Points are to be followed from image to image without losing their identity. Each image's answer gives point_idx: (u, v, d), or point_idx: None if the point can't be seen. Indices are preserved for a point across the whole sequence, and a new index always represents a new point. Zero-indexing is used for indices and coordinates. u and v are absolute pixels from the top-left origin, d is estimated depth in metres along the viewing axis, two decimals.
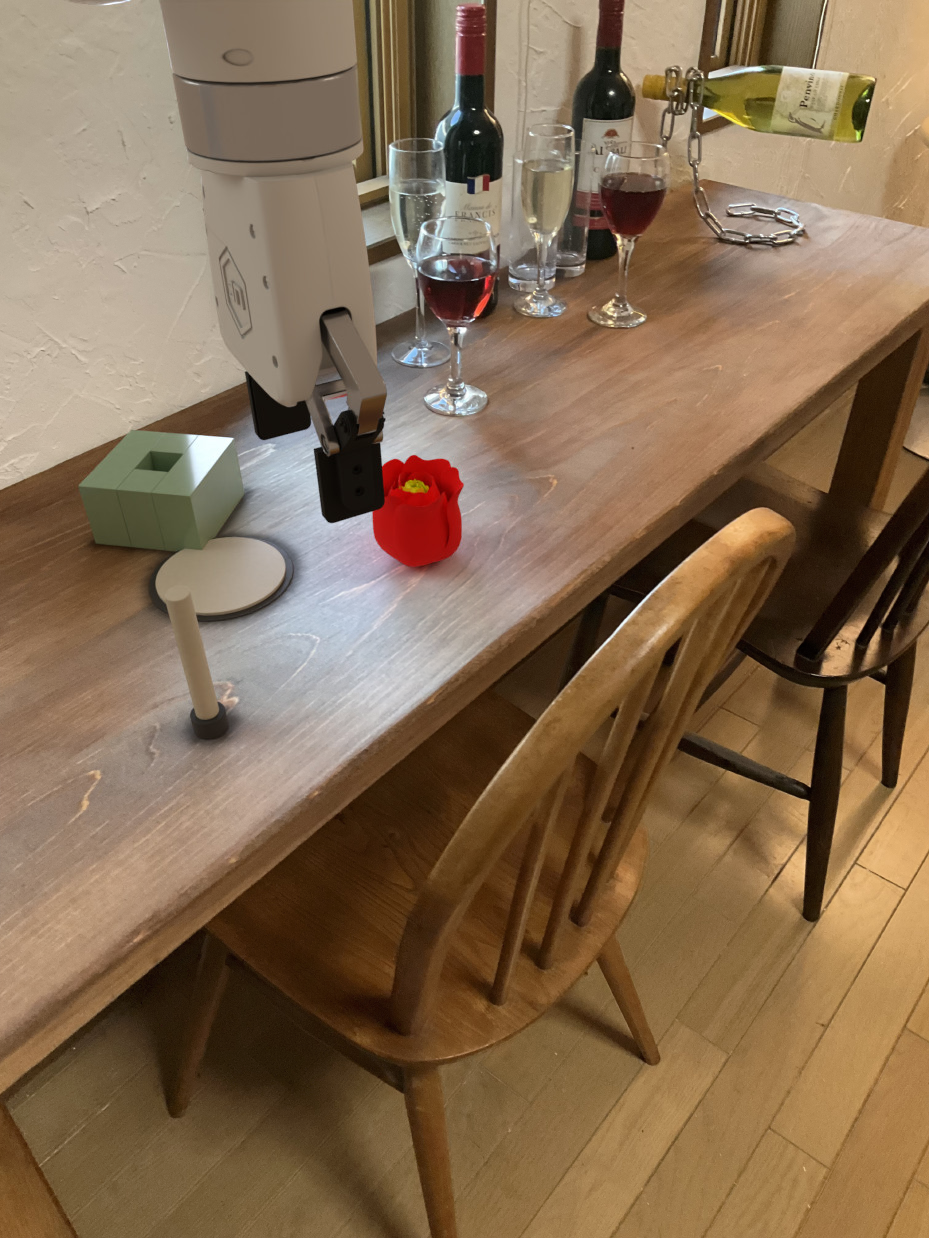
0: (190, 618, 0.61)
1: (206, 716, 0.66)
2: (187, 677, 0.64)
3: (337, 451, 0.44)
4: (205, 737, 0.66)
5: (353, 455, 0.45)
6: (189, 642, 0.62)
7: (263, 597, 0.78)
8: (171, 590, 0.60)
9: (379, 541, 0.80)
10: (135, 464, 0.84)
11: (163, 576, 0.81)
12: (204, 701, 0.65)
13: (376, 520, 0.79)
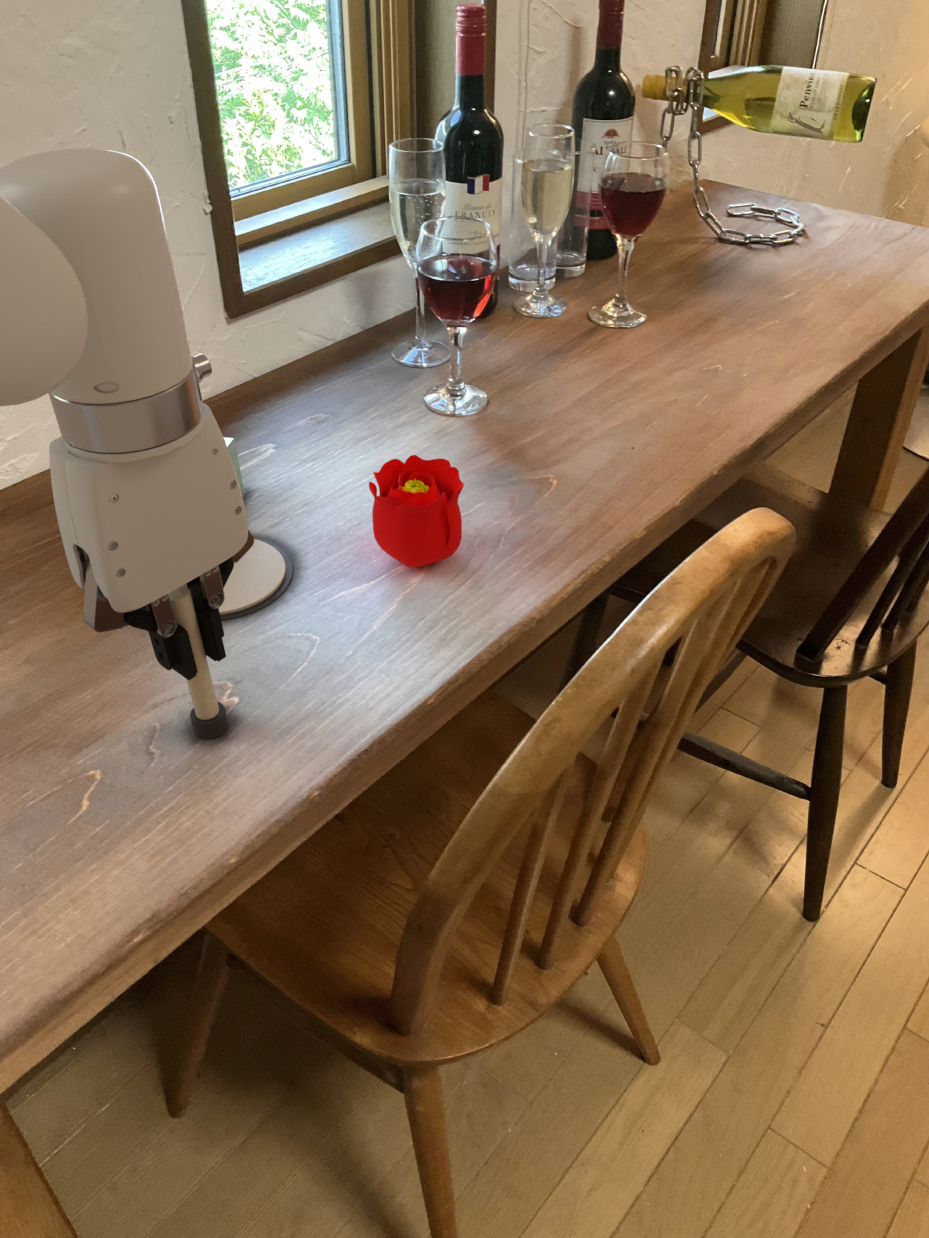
0: (190, 618, 0.61)
1: (206, 716, 0.66)
2: None
3: None
4: (205, 737, 0.66)
5: (153, 631, 0.60)
6: None
7: (263, 597, 0.78)
8: None
9: (379, 541, 0.80)
10: None
11: None
12: (204, 701, 0.65)
13: (376, 520, 0.79)
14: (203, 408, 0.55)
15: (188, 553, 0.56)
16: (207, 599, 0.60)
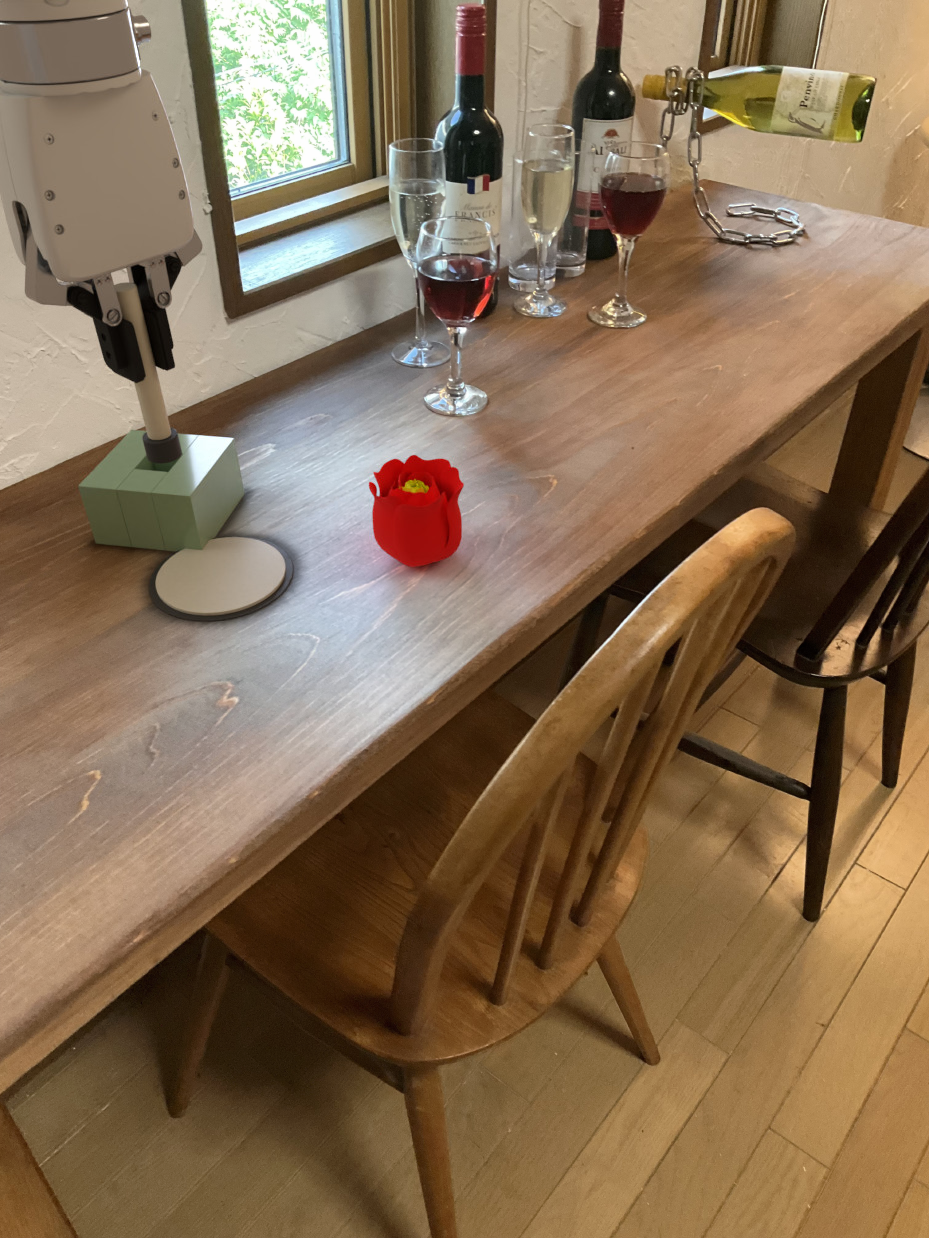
0: (137, 315, 0.61)
1: (157, 435, 0.66)
2: (137, 388, 0.64)
3: (86, 313, 0.60)
4: (157, 459, 0.67)
5: (99, 324, 0.60)
6: None
7: (263, 597, 0.78)
8: (118, 285, 0.60)
9: (379, 541, 0.80)
10: (135, 464, 0.84)
11: (163, 576, 0.81)
12: (154, 417, 0.65)
13: (376, 520, 0.79)
14: (142, 72, 0.55)
15: (129, 227, 0.56)
16: (153, 295, 0.61)
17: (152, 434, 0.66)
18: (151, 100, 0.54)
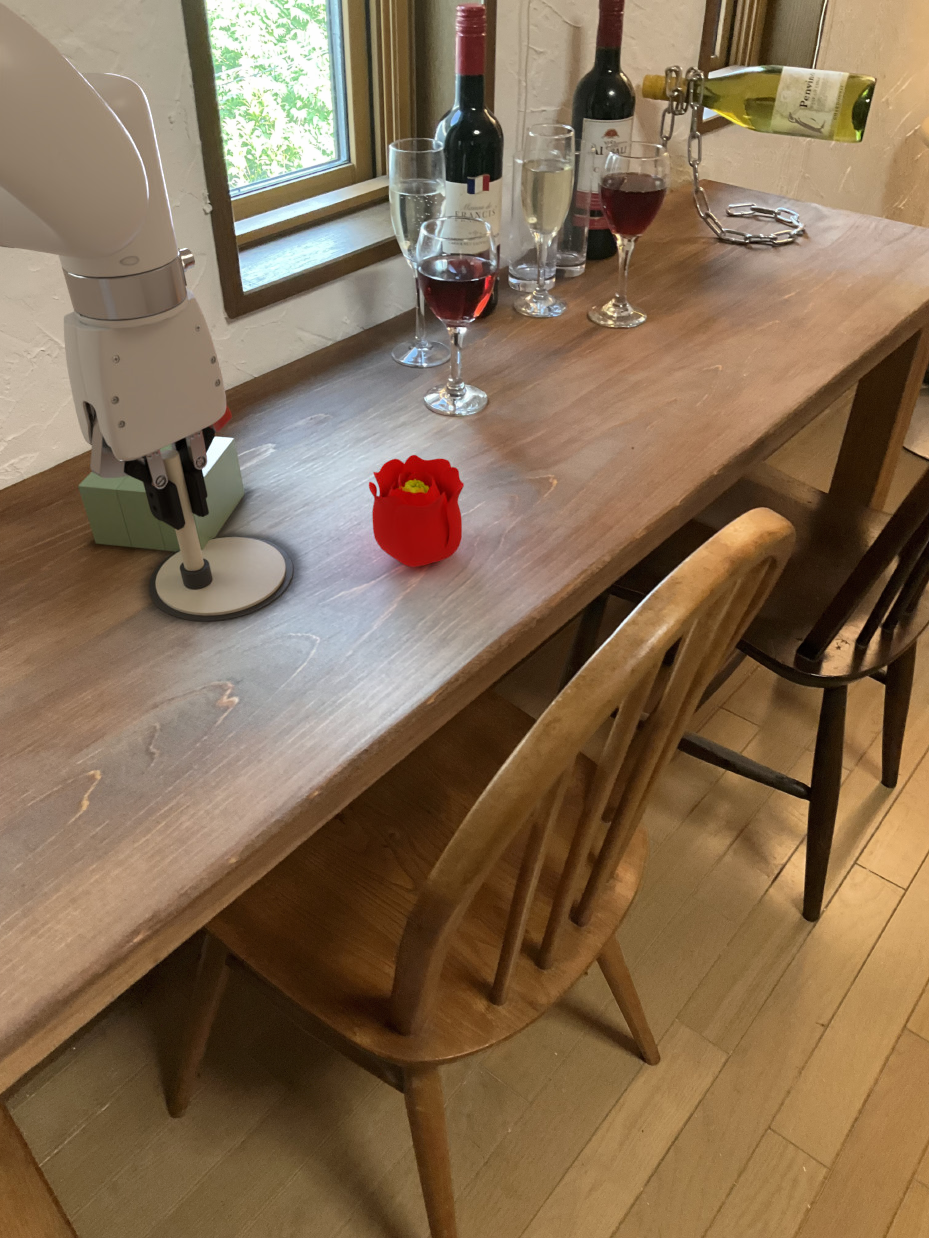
0: (179, 476, 0.73)
1: (193, 567, 0.78)
2: (177, 531, 0.76)
3: None
4: (192, 586, 0.79)
5: (148, 485, 0.73)
6: None
7: (263, 597, 0.78)
8: (163, 452, 0.73)
9: (379, 541, 0.80)
10: None
11: (163, 576, 0.81)
12: (191, 553, 0.77)
13: (376, 520, 0.79)
14: (188, 293, 0.67)
15: (176, 414, 0.69)
16: (192, 460, 0.73)
17: (188, 566, 0.78)
18: (195, 316, 0.67)
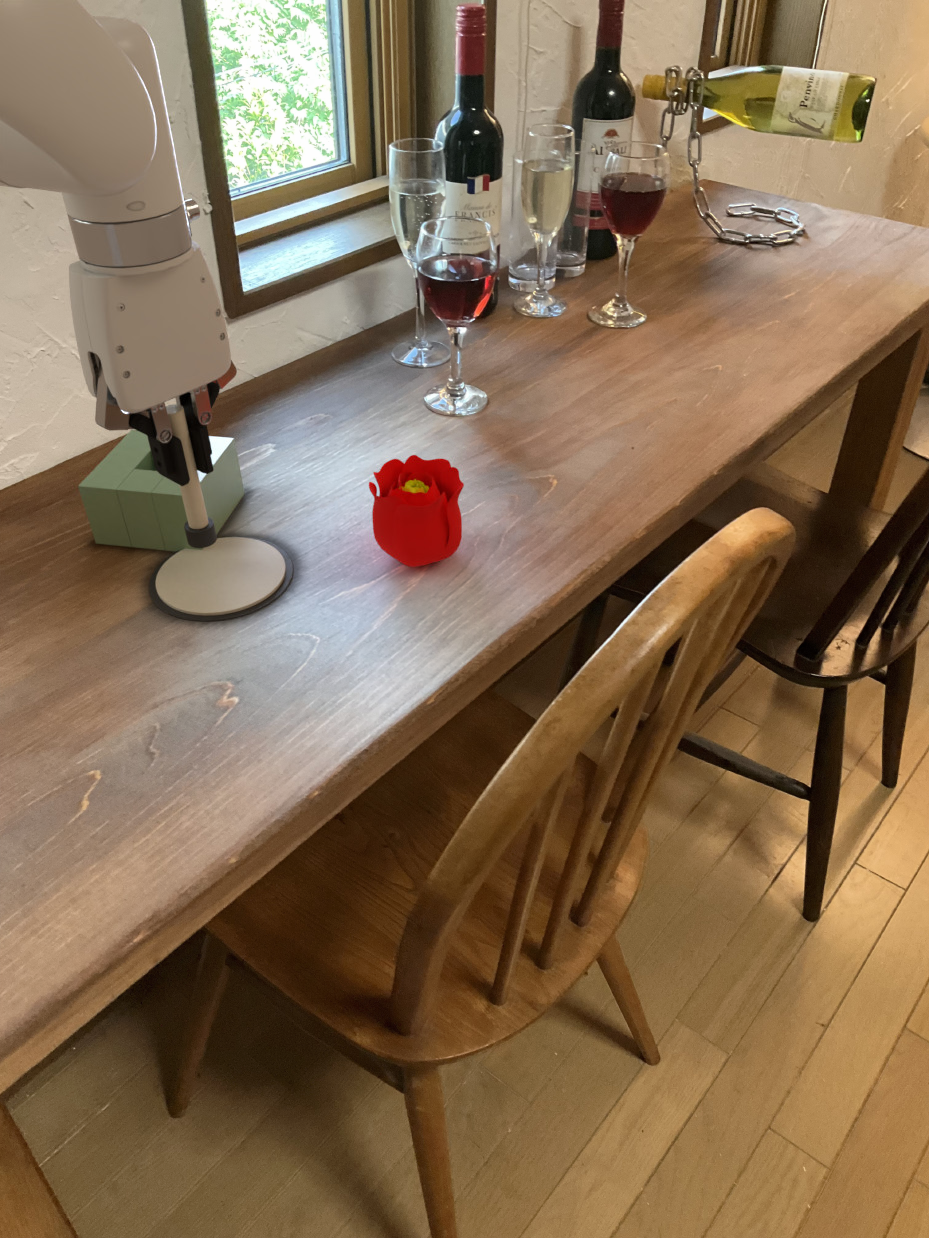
0: (183, 431, 0.73)
1: (197, 525, 0.78)
2: (181, 488, 0.76)
3: None
4: (197, 545, 0.79)
5: (153, 440, 0.72)
6: None
7: (263, 597, 0.78)
8: (167, 407, 0.73)
9: (379, 541, 0.80)
10: (135, 464, 0.84)
11: (163, 576, 0.81)
12: (195, 511, 0.77)
13: (376, 520, 0.79)
14: (193, 244, 0.67)
15: (181, 367, 0.69)
16: (197, 415, 0.73)
17: (193, 524, 0.78)
18: (200, 267, 0.67)
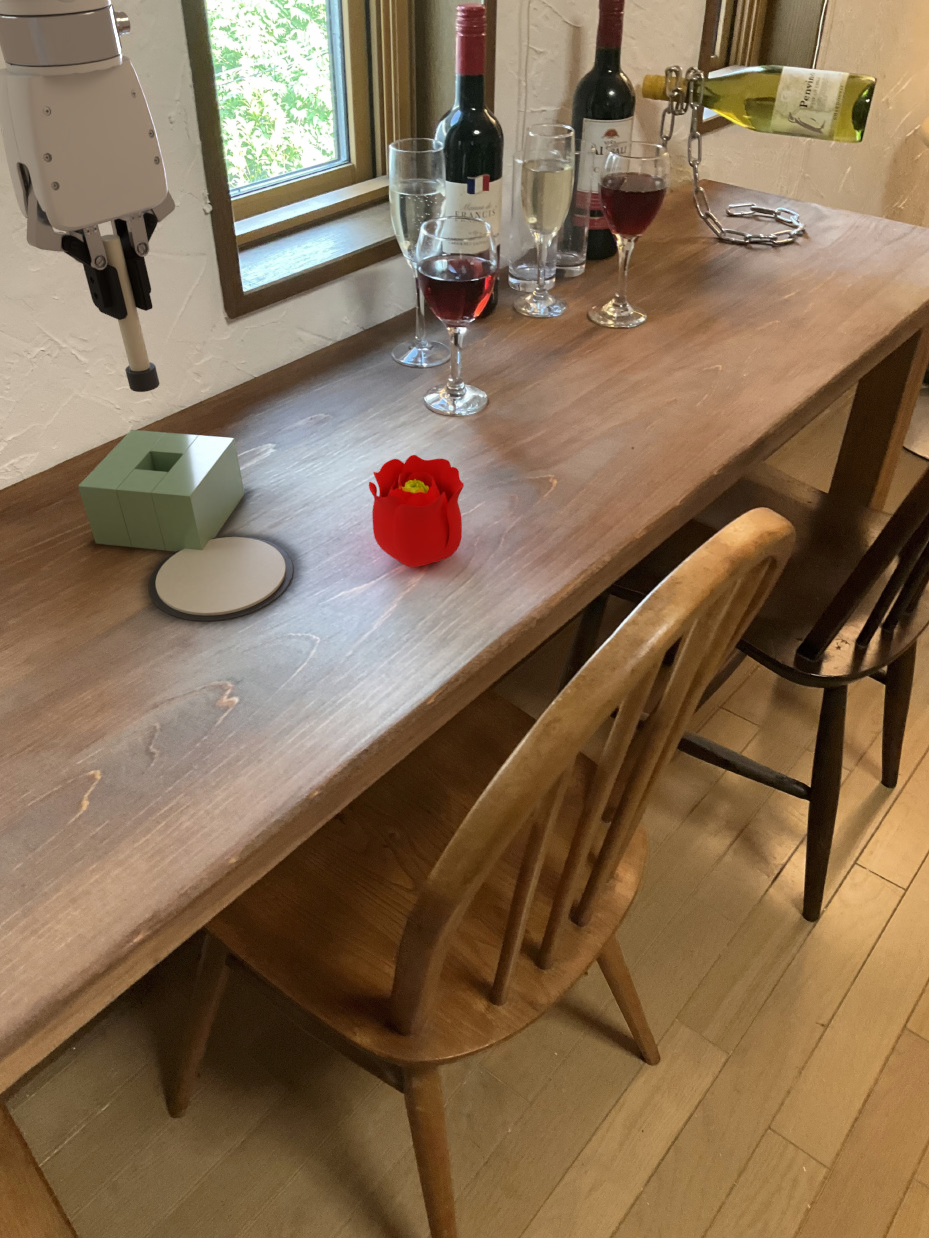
0: (120, 262, 0.73)
1: (138, 367, 0.78)
2: (120, 325, 0.76)
3: (77, 260, 0.72)
4: (138, 388, 0.79)
5: (88, 269, 0.72)
6: None
7: (263, 597, 0.78)
8: (103, 236, 0.72)
9: (379, 541, 0.80)
10: (135, 464, 0.84)
11: (163, 576, 0.81)
12: (135, 351, 0.77)
13: (376, 520, 0.79)
14: (123, 58, 0.67)
15: (113, 186, 0.68)
16: (133, 245, 0.73)
17: (134, 366, 0.78)
18: (130, 81, 0.66)
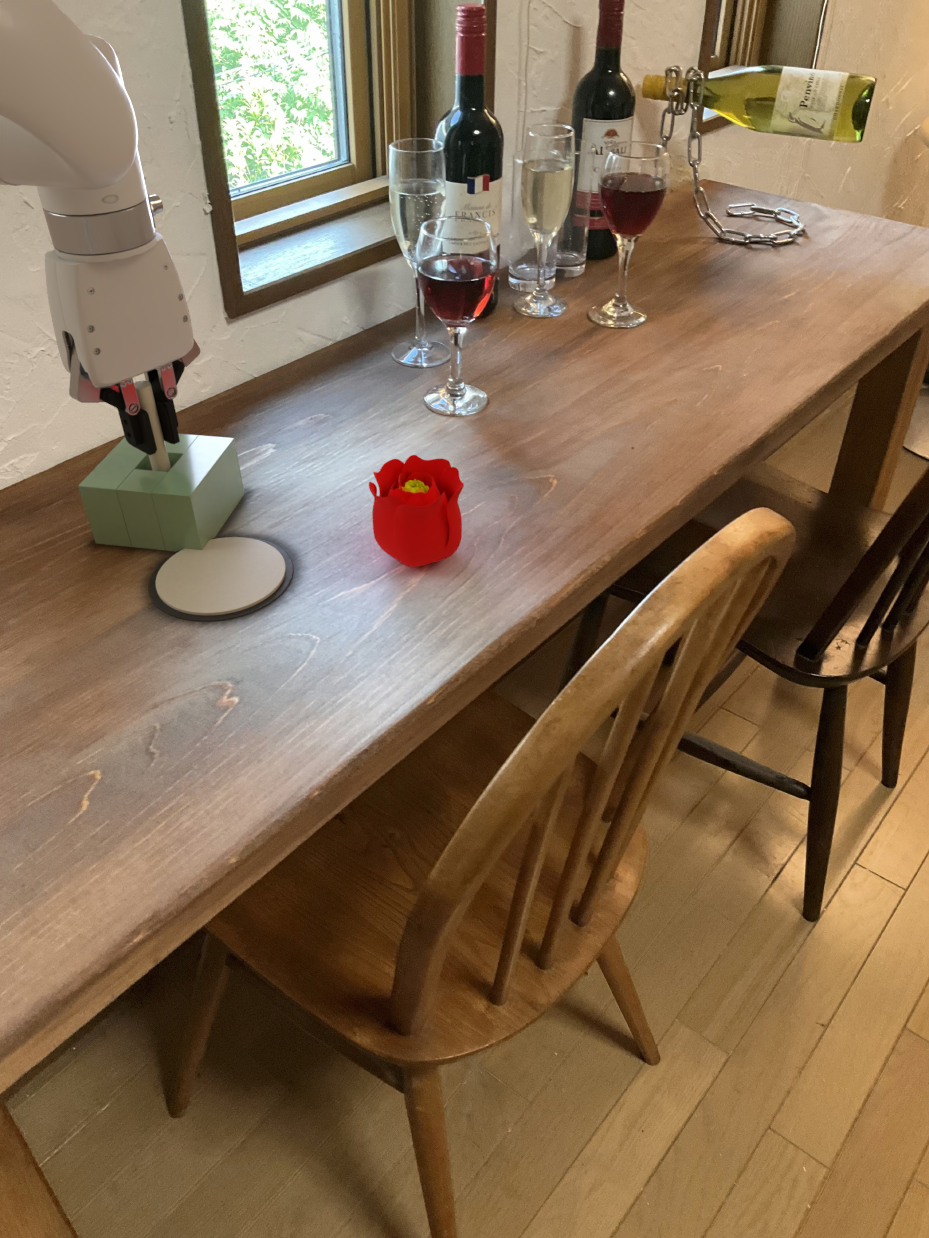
0: (151, 405, 0.81)
1: None
2: (150, 457, 0.84)
3: None
4: None
5: (122, 413, 0.80)
6: None
7: (263, 597, 0.78)
8: (136, 383, 0.81)
9: (379, 541, 0.80)
10: (135, 464, 0.84)
11: (163, 576, 0.81)
12: None
13: (376, 520, 0.79)
14: (157, 235, 0.75)
15: (147, 345, 0.77)
16: (164, 390, 0.81)
17: None
18: (163, 256, 0.75)
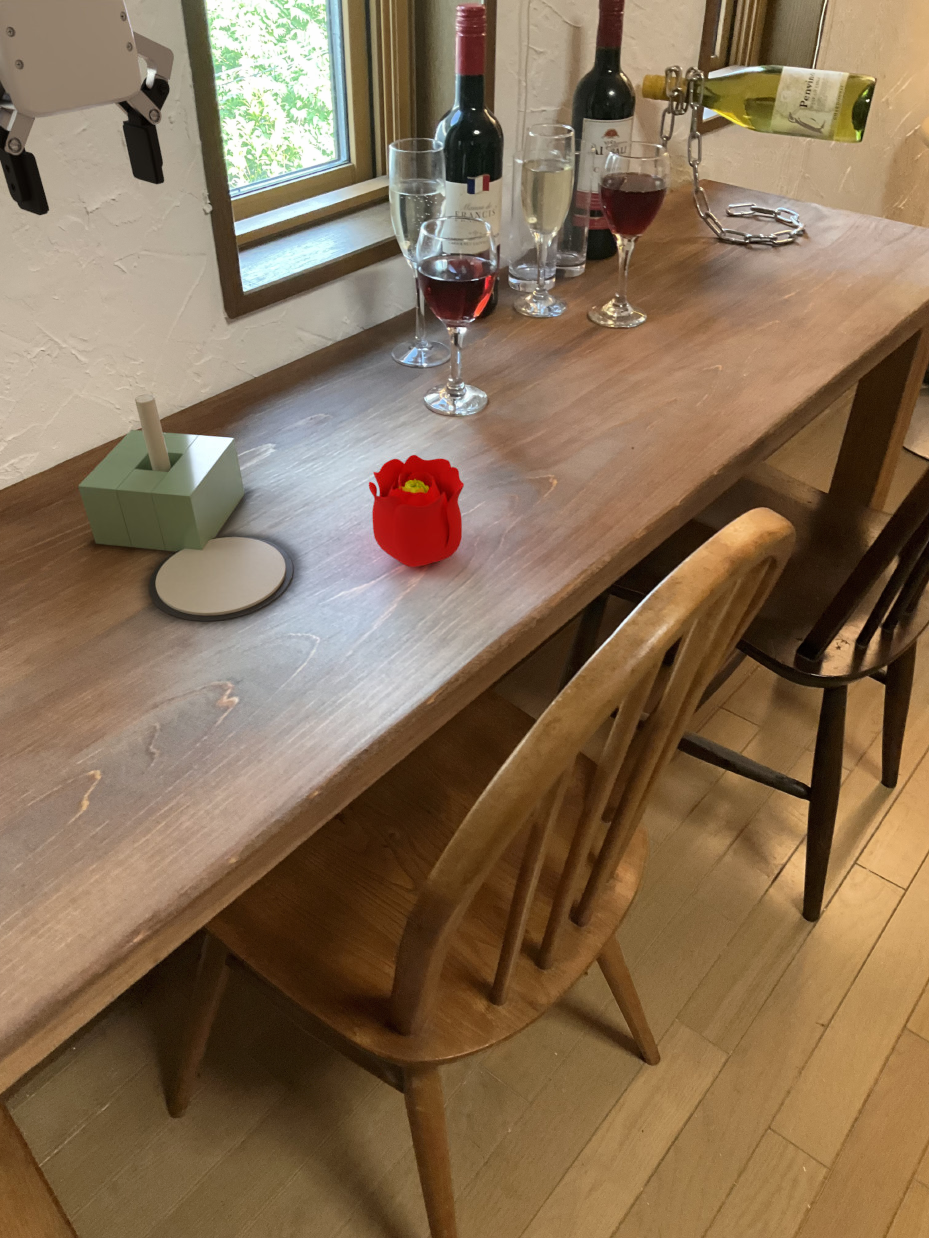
0: (154, 418, 0.82)
1: None
2: (153, 470, 0.85)
3: None
4: None
5: (3, 156, 0.65)
6: (154, 438, 0.83)
7: (263, 597, 0.78)
8: (140, 396, 0.81)
9: (379, 541, 0.80)
10: (135, 464, 0.84)
11: (163, 576, 0.81)
12: None
13: (376, 520, 0.79)
14: None
15: (82, 70, 0.64)
16: (145, 111, 0.70)
17: None
18: None
